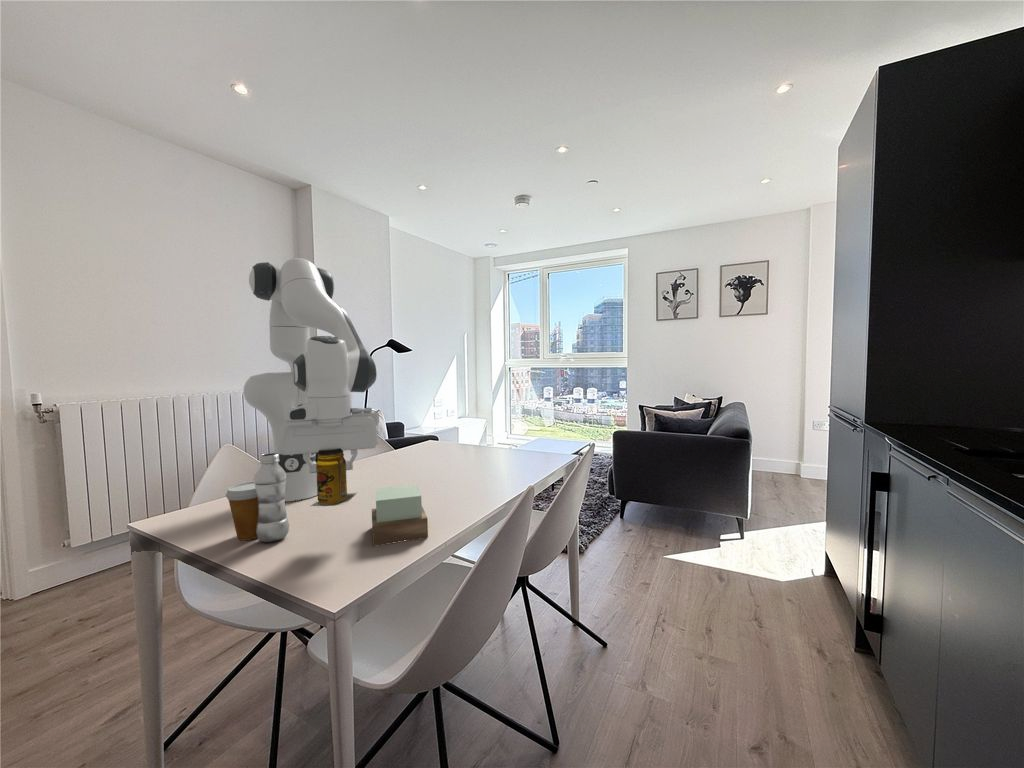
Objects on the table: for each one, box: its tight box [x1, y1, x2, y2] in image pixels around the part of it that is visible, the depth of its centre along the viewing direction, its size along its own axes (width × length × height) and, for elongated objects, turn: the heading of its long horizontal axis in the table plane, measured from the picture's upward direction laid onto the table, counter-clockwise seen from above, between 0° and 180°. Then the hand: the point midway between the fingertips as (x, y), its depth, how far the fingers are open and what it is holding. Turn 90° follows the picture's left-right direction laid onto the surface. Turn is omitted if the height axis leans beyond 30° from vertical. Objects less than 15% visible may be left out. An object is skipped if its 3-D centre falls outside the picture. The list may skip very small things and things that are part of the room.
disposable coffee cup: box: [225, 480, 258, 541], centre depth 100 cm, size 10×10×12 cm
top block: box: [375, 484, 423, 523], centre depth 100 cm, size 10×10×5 cm
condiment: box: [310, 448, 358, 507], centre depth 93 cm, size 7×8×12 cm
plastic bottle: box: [253, 452, 290, 543], centre depth 97 cm, size 6×7×20 cm
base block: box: [371, 506, 429, 547], centre depth 100 cm, size 12×12×5 cm
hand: (331, 471), depth 93 cm, fingers closed on condiment, 6 cm apart
